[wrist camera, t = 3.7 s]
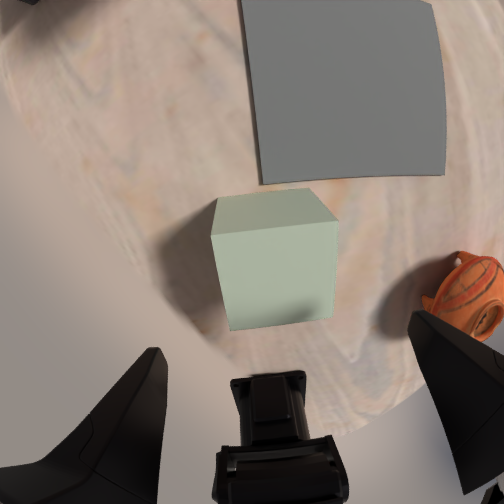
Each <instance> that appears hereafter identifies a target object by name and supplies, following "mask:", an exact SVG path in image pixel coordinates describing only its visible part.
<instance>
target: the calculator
mask: <svg viewBox="0 0 504 504" xmlns="http://www.w3.org/2000/svg"><path fill="white" fill-rule="evenodd" d="M19 1H22V2H25V3H28V4H31V5H35V4H36V3H37V2H38V1H40V0H19Z"/></svg>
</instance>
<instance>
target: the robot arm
mask: <svg viewBox="0 0 504 504" xmlns="http://www.w3.org/2000/svg"><path fill="white" fill-rule="evenodd" d="M408 335H409V338H410V341H411V343H412V346H413V349H414V352H415V355H416V358H417V362H418V364H419V367H420V369H421V372H422V374H423V377H424V379H425V381H426V384H427V386H428V388H429V390H430V393H431V396H432V398H433V401H434V403H435V406H436V408H437V411H438V414H439V416H440V419H441V422H442V424H443V427H444V430H445V433H446V436H447V439H448V442H449V445H450V448H451V451H452V455H453V458H454V462H455V465H456V468H457V472H458V475H459V479H460V483H461V487H462V491H463V494H464V495H466V494H468V493H470V492H472V491H474V490H475V489H477V488H479V487H481V486H482V485H484V484H486V483H488V482H489V481H491V480H492V479H494V478H496V480H497V482H496V483H495V484H494V485H492V486H491V487H490V488H488V489H487V490H486V492H485V495H484V497H483V500H482V502H481V504H504V355H502V354H500V353H499V352H497V351H495V350H493V349H492V348H490V347H489V346H487V345H485V344H483V343H482V342H480V341H478V340H477V339H475V338H473V337H471V336H470V335H468V334H466V333H465V332H463V331H461V330H459V329H458V328H456V327H454V326H452V325H451V324H449V323H447V322H445V321H444V320H442V319H440V318H438V317H436V316H435V315H433V314H431V313H429V312H427V311H426V310H424V309H420V310H416V311H413V313H412V315H411V318H410V321H409V325H408ZM167 383H168V365H167V361H166V359H165V357H164V355H163V353H162V351H161V349H160V348H158V347H149V348H147V349H146V350H145V351H144V353H143V354H142V355H141V356H140V357H139V358H138V359H137V360H136V361H135V363H134V364H133V365H132V366H131V367H130V368H129V369H128V371H126V373H125V374H124V375H123V376H122V377H121V378H120V379H119V381H117V383H116V384H115V385H114V386H113V387H112V388H111V389H110V391H109V392H108V393H107V394H106V395H105V396H104V397H103V398H102V400H101V401H100V402H99V403H98V404H97V405H96V406H95V407H94V408H93V410H92V411H91V412H90V414H88V415H87V416H86V417H85V419H84V420H83V421H82V422H81V423H80V424H79V425H78V426H77V427H76V428H75V429H74V430H73V431H72V432H71V433H70V434H69V435H68V436H67V437H66V438H65V439H64V440H63V441H62V442H61V443H60V444H59V445H57V446H56V447H55V448H54V449H53V450H52V451H51V452H50V453H49V454H48V455H46V456H45V457H44V458H42V459H41V460H39V461H37V462H34V463H30V464H24V465H18V466H10V467H2V468H0V504H157V495H158V482H159V470H160V459H161V450H162V441H163V432H164V425H165V416H166V408H167ZM230 387H231V390H232V393H233V396H234V399H235V403H236V406H237V409H238V412H239V415H240V436H241V446H230V447H229V446H222V448H221V452H218V453H216V473H215V478H214V483H213V489H212V499H213V500H214V501H216V502H217V503H218V504H343V503H344V502H346V501H347V500H348V496H349V483H348V478H347V474H346V470H345V468H344V465H343V462H342V460H341V457H340V455H339V452H338V450H337V447H336V445H335V442H334V440H333V437H332V435H327V436H325V437H321V438H316V439H310V434H309V430H308V424H307V419H306V414H305V409H304V407H305V393H306V373H305V372H304V371H297V372H290V373H283V374H275V375H267V376H259V377H249V378H239V379H232V380H231V381H230ZM235 468H236V471H235Z"/></svg>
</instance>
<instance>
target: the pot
mask: <svg viewBox="0 0 504 504" xmlns="http://www.w3.org/2000/svg"><path fill="white" fill-rule="evenodd" d="M457 257H458V258H460V260H461V263H462V264H460V265H459V266H458V267H456V268H455V269H454V270H453V271H452V272H451V273H450V274H449V275H448V276H447V277H446V278H445V280H444V281H443V282H442V284H441V286H440V287H439V289H438V291H437V294H436V297H435V298H433V299H432V298H429V297H427V296H426V295H423V296H422V303H423V307H424V309H425V310H426V311H427V312H429V313H431V314H433V315H435V316H436V317H438V318H440V319H442V320H444V321H445V322H447V323H449V324H451V325H452V326H454V327H456V328H458V329H459V330H461V331H463V332H465V333H466V334H468V335H470V336H471V337H473V338H475V339H477V340H478V341H480V342H483V341H485V340H486V339H487V338H488V337H490V336H491V335H492V334H493V332H494V330H495V329H496V327H498V325H499V324H500V323H501V321H502V319H503V317H504V271H503V268H502V266H501V264H500V263H499V262H498V260H496V259H495V258H493V257H488V256H481V257H480V256H476V255H473V254H470V253H468V252H465V251H460V253H459V254H458V255H457Z"/></svg>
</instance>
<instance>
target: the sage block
mask: <svg viewBox="0 0 504 504" xmlns="http://www.w3.org/2000/svg"><path fill="white" fill-rule="evenodd" d="M211 240H212V246H213V251H214V256H215V261H216V266H217V271H218V276H219V281H220V286H221V291H222V296H223V301H224V305H225V310H226V315H227V319H228V324H229V329H230V331H235V330H244V329H253V328H262V327H270V326H278V325H285V324H292V323H299V322H306V321H313V320H319V319H325V318H331V317H333V312H334V300H335V287H336V272H337V252H338V220H337V218H336V217H335V216H334V215H333V214H332V213H331V212H330V210H329V209H328V208H327V207H326V206H325V205H324V204H323V203H322V201H321V200H320V199H319V198H318V197H317V196H316V195H315V194H314V193H313V191H312V190H311V189H310V188H300V189H289V190H279V191H269V192H260V193H251V194H243V195H235V196H227V197H220V198H218V200H217V205H216V210H215V215H214V220H213V225H212V231H211Z"/></svg>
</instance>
